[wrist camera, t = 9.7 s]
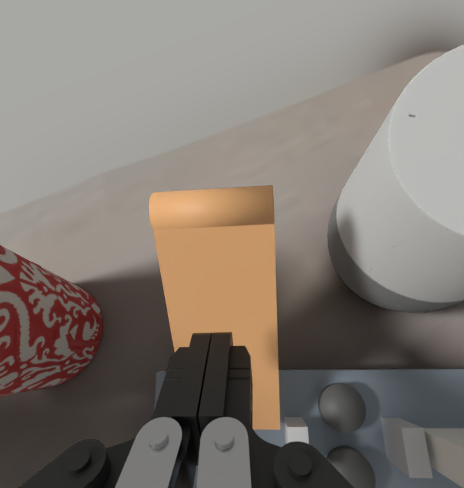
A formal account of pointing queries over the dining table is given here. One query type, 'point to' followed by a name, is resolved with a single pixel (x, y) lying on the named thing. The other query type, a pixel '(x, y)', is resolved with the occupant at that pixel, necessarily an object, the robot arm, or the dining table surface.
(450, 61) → the smart speaker
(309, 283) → the dining table surface
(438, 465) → the cream paddle
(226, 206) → the orange paddle
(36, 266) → the mug
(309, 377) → the paddle holder
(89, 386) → the dining table surface
